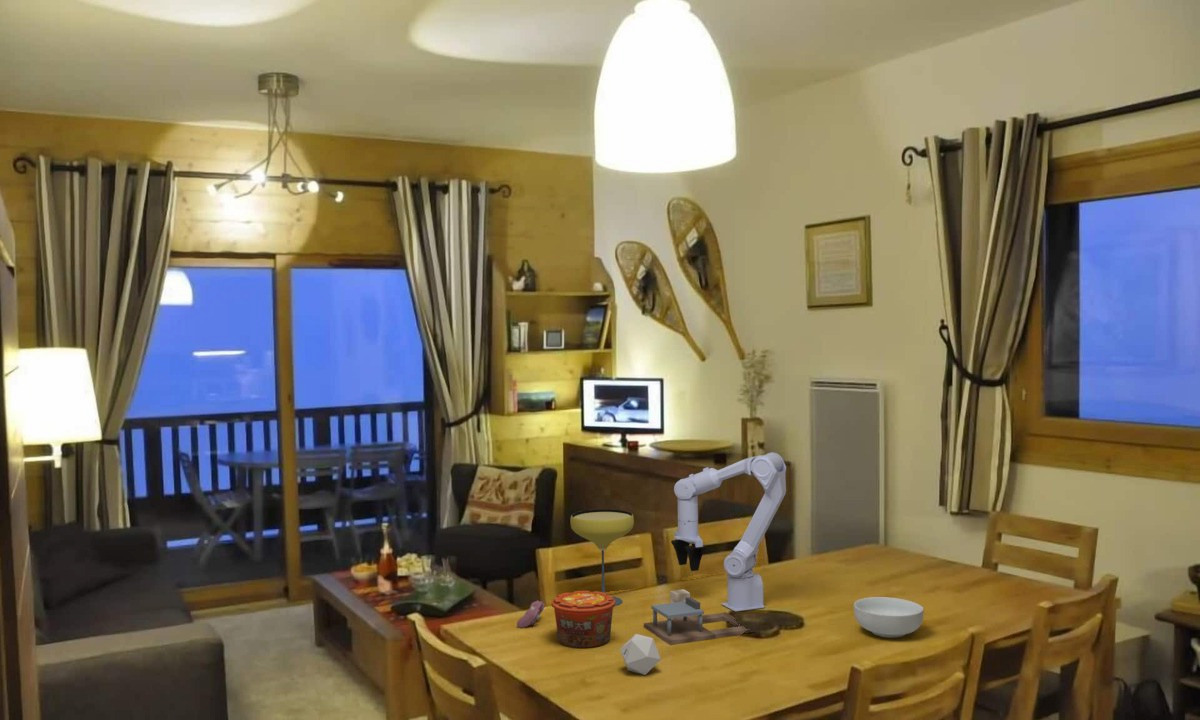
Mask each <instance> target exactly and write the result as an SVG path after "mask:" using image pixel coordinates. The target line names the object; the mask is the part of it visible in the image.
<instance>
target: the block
mask: <svg viewBox="0 0 1200 720" xmlns="http://www.w3.org/2000/svg"><path fill="white" fill-rule="evenodd" d="M669 595H670V596H669V597H670V598H669V599H670V600H669V601H670V602H669V603H675V602H683V601H686V599H685V597H691V593H690V592H689V591H687V590H686V589H675V590H670V591H669Z"/></svg>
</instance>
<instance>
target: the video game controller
mask: <svg viewBox="0 0 1200 720" xmlns="http://www.w3.org/2000/svg"><path fill="white" fill-rule="evenodd" d="M545 606H546V603H544V602H543V601H539V600H536V601H533V602H531V603H530V607H529V608H528V609H527V610H525V611H526V612H525V613H524V615H523V616H522V617H520V618H518V620H517V622H516V626H517V628H519V629H524V628H527V627H528V626H533V625H535V623H536V622H537V621H539V619H540V616H541V614H542V612H543V611H544V608H545Z"/></svg>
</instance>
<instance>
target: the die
mask: <svg viewBox="0 0 1200 720" xmlns="http://www.w3.org/2000/svg"><path fill="white" fill-rule="evenodd" d="M619 652H620V654H621V656H622V659H623V662H624V664H625V666H626V670H627V671H629V672H632V673H636V674H639V675H643V676H646V675H647V674H648V673H650V671H651V670H653V668H654V667H656V665H658V663H659V662H660V661H662V659H661V656H660V653H659V651H658V648H657V646H656V643H655V640H654V638H653V637H650V636H646V635H641V634H637V633H634V635H633V636H632V637H631V638H630V639H629V640H628V641H626V643H624V644H623V645H622V647H620V648H619Z"/></svg>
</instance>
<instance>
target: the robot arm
mask: <svg viewBox="0 0 1200 720" xmlns="http://www.w3.org/2000/svg"><path fill="white" fill-rule="evenodd" d="M786 472H787V465H786V464H785V461H784V459H783V457H782V456H781V455H780V454H778V453H777V452H772V451H771V452H768V453H766V454H764V455H763V454H760V455H754V456H751V457H747V458H744V459H742V460H739V461H737V462H735V463H732V464H730V465H727V466H726V467H723V468H720V469H716V468H714V467H710V468H709V467H704V468H702V471H700V472H698V473H695V474H694V473H691V474H689V475H688V477H686V478H685V477H684V478H681V479H679V480H678V481H677V482H676V483H675V484H674V487H673V492H674V494H675V496H676V497H677V530H674V531H673V538H674V539H672V540H671V542H670V543H671V544H672V546H673V549H674V550H675V553H676V557H677V561H678V565H679V566H684V565H686V566H687V563H689V569H690V571H691V572H698V571H699V569H700V565H701V561H702V557H703V555H704V552H705V551H706V548H707V546H706V545H704V544H703V543H704V541H703V539H702V538H701V536H700V535H699V509H698V508H699V506H698V505H699V504H698V498H699V497H698V496H699V495H702V494H705V493H707V492H710V491H712V490H715V489H717V488H720V487H721V485H722V482H723V481H724V480H727V479H730V478H734V477H736V476H739V475H742V474H746V475H749V476H754V477H755V478H756V479H757V480H758V482H759V483H760V484H761V486H762V489H763V491H764V494H763V495H762V498H761V500H760V502H759V504H758V505H757V508H756V510H755V512H754V513H753V516H752V517H751V519H750V521H749V524H748V526H747V527H746V529H745V531H744V533H743V535H742V537H741V539H740V541H739V542H738V543H737V545H735V546H734V548H733V550H732V552H731V553H730V554H728V555H727V556H726V557H725V558H724V560H723V568H724V571H725V572H726V575H727V576H726V577H727V580H726V582H727V586H726V587H727V601H725V602H721V605H722V606H724V607H726V608H728V609H730V610H731V611H733V612H741V611H742V612H743V611H750V610H756V609H757V610H759V609H764V608H765V607H766V606H765V605H764V583H763V578H762V576H761V575H760V574H759V573H757V572H756V573H755V572H754V571H753V568H755V566H756V564H757V555H758V553H759V546H760V544H761V542H762V540H763V538H764V536H765V534H766V532H767V531H768V529H769V527H770V525H771V523H772V521H773V518H775V515H776V513H777V512H778V510H779V508H780V505H781V504H782V502H783V500H784V497H785V495H786V493H787V485H786V484H787V482H786ZM688 559H689V560H688ZM688 561H689V562H688Z"/></svg>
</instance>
